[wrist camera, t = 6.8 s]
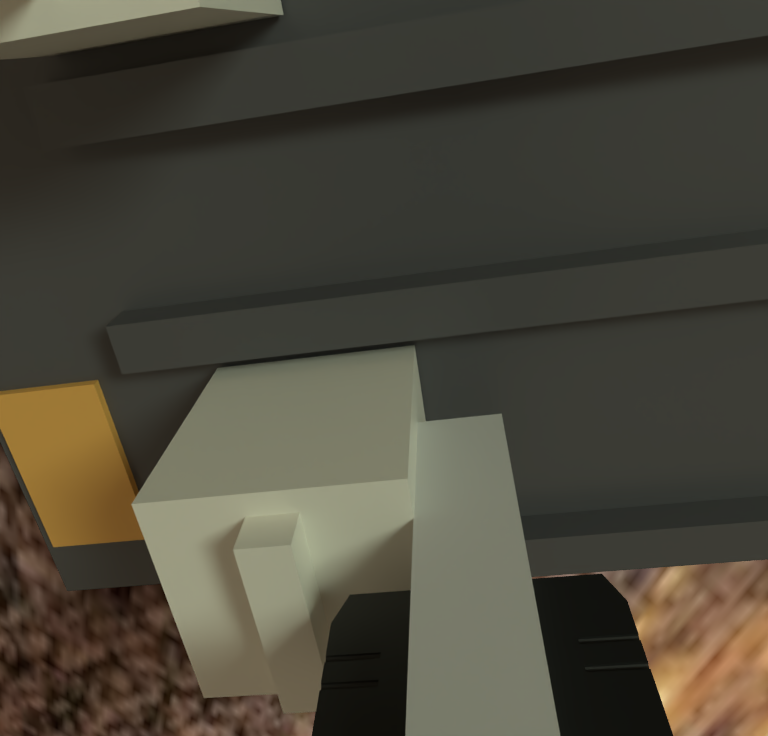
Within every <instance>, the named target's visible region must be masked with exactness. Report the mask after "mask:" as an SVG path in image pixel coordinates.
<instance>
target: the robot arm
mask: <svg viewBox="0 0 768 736" xmlns="http://www.w3.org/2000/svg"><path fill="white" fill-rule="evenodd" d="M312 736H673V734H672V731H671V728H670V725H669V722H668V719H667V716H666V713H665V710H664V707H663V704H662V701H661V699H660V696H659V693H658V690H657V687H656V684H655V681H654V678H653V675H652V672H651V669H649V666H648V661H647V658H646V655H645V652H644V649H643V646H642V643H641V640H639V636H638V631H637V628H636V626H635V623H634V620H633V617H632V614H631V611H630V608H629V605H628V602H627V600H626V599H625V598H624V597H623V596H622V595H621V594H620V593H619V592H618V591H617V589H616V588H615V587H614V586H613V585H612V584H611V583H610V582H609V581H608V580H607V579H606V578H605V577H604V576H603V575H602V574H593V575H579V576H566V577H552V578H539V579H532V577H531V572H530V566H529V561H528V555H527V550H526V544H525V539H524V533H523V528H522V523H521V517H520V512H519V506H518V501H517V495H516V490H515V484H514V479H513V473H512V468H511V462H510V457H509V451H508V446H507V440H506V435H505V429H504V424H503V418H502V414H493V415H483V416H473V417H463V418H454V419H444V420H434V421H424V422H418V426H417V454H416V483H415V511H414V519H413V544H412V571H411V590H406V591H393V592H379V593H365V594H352V595H349V597H348V598H347V600H346V601H345V603H344V604H343V606H342V607H341V609H340V610H339V612H338V613H337V615H336V616H335V618H334V619H333V621H332V623H331V626H330V632H329V638H328V644H327V650H326V662H324V667H323V673H322V679H321V690H320V691H319V697H318V703H317V709H316V714H315V720H314V726H313V732H312Z"/></svg>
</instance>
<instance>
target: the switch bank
mask: <svg viewBox="0 0 768 736" xmlns="http://www.w3.org/2000/svg"><path fill="white" fill-rule="evenodd" d="M281 4H282V9H283V15H281V16H276V17H270V18H264V19H259V20H253V21H248V22H242V23H236V24H231V25H225V26H219V27H214V28H208V29H202V30H197V31H191V32H185V33H180V34H174V35H168V36H163V37H157V38H152V39H146V40H140V41H135V42H129V43H123V44H118V45H112V46H106V47H101V48H95V49H89V50H84V51H78V52H72V53H67V54H61V55H56V56H47V57H32V58H18V59H3V60H0V443H1V445H2V447H3V449H4V451H5V454H6V456H7V458H8V460H9V463H10V465H11V467H12V469H13V471H14V474H15V476H16V478H17V480H18V482H19V485H20V487H21V489H22V491H23V494H24V496H25V498H26V500H27V502H28V505H29V507H30V509H31V511H32V514H33V516H34V518H35V520H36V522H37V525H38V527H39V529H40V531H41V533H42V536H43V538H44V540H45V542H46V545H47V547H48V549H49V551H50V553H51V556H52V558H53V560H54V562H55V564H56V567H57V569H58V571H59V573H60V576H61V578H62V580H63V582H64V584H65V587H66V589H67V591H74V590H87V589H100V588H113V587H126V586H139V585H152V584H161V582H160V579H159V577H158V574H157V571H156V569H155V566H154V563H153V561H152V558H151V555H150V553H149V550H148V547H147V545H146V542H145V539H144V537H143V534H142V531H141V529H140V526H139V523H138V521H137V518H136V515H135V513H134V510H133V507H132V505H131V504H132V502H133V501H134V499H135V498H136V496H137V494H138V493H139V491H140V490H141V488H142V487H143V485H144V483H145V482H146V480H147V479H148V477H149V476H150V474H151V472H152V471H153V469H154V468H155V466H156V464H157V463H158V461H159V460H160V458H161V457H162V455H163V453H164V452H165V450H166V449H167V447H168V445H169V444H170V442H171V441H172V439H173V438H174V436H175V434H176V433H177V431H178V430H179V428H180V426H181V425H182V423H183V422H184V420H185V419H186V417H187V415H188V414H189V412H190V411H191V409H192V408H193V406H194V404H195V403H196V401H197V400H198V398H199V396H200V395H201V393H202V392H203V390H204V389H205V387H206V385H207V384H208V382H209V381H210V379H211V377H212V376H213V374H214V373H215V371H216V370H217V368H222V367H230V366H239V365H247V364H256V363H265V362H273V361H282V360H291V359H299V358H308V357H317V356H325V355H334V354H343V353H351V352H360V351H368V350H377V349H386V348H394V347H403V346H412V345H415V351H416V358H417V365H418V371H419V378H420V385H421V392H422V399H423V405H424V412H425V419H426V421H434V420H444V419H454V418H463V417H473V416H483V415H493V414H502V418H503V424H504V429H505V435H506V440H507V446H508V451H509V457H510V462H511V468H512V473H513V479H514V484H515V490H516V495H517V501H518V506H519V512H520V517H521V523H522V528H523V533H524V539H525V544H526V550H527V555H528V561H529V566H530V572H531V577H535V576H549V575H562V574H576V573H589V572H603V571H616V570H630V569H643V568H657V567H670V566H684V565H697V564H711V563H724V562H738V561H751V560H765V559H768V0H281Z"/></svg>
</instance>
